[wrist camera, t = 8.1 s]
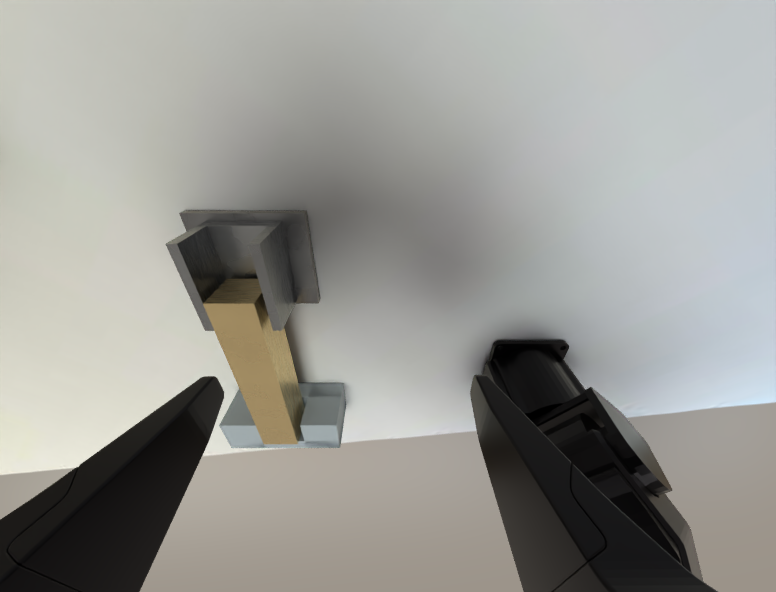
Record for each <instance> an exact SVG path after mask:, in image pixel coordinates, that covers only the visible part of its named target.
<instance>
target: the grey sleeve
mask: <svg viewBox="0 0 776 592" xmlns="http://www.w3.org/2000/svg"><path fill="white" fill-rule="evenodd" d="M179 214H180V216H181V219H182V221H183V224H184V226H185V228H186V231H187V232H185V233H184V234H182V235H180V236H179V237H177V238H175V239H173V240H172V241H170V242H168V243H166V246H167V248H168V250H169V252H170V255H171V257H172V259H173V261H174V263H175V266H176V268H177V270H178V272H179V274H180V276H181V279H182V281H183V283H184V285H185V287H186V290H187V292H188V294H189V296H190V298H191V301H192V303H193V305H194V307H195V309H196V312H197V314H198V316H199V318H200V320H201V322H202V325H203V327H204V329H205V331H214V328H213V326H212V324H211V321H210V319H209V317H208V315H207V312H206V310H205V308H204V305H203V303H204V302H205V301H206V300H207V299H208V298H209V297H210V296H211V295H212V294H213V293H214V292H215V291H216V290H217V289H218V288H219V287H220V286H221V285H222V284H223V283H224V282H225V280H226V279H258V280H259V284H260V287H261V291H262V294H263V298H264V301H265V305H266V308H267V312H268V315H269V319H270V322H271V326H272V329H273V331H282V330H283V328H284V326H285V324H286V322H287V320H288V318H289V316H290V314H291V311H292V309H293V307H294V305H295V303H319V301H320V295H319V289H318V283H317V276H316V270H315V263H314V257H313V250H312V244H311V238H310V231H309V225H308V218H307V212H306V211H183V212H181V213H179Z"/></svg>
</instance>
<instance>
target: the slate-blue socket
mask: <svg viewBox="0 0 776 592" xmlns="http://www.w3.org/2000/svg"><path fill="white" fill-rule="evenodd" d="M298 384H299V388H300V392H301V395H302V399H303V403H304V407H305V410H304V413H303V417H302V420H301V424H300V427H301V430H302V431H301V435H300V438H299V442H298V444H263V441H262V439H261V437H260V435H259V432H258V430H257V428H256V425H255V423H254V421H253V418H252V416H251V414H250V411H249V409H248V407H247V405H246V402H245V400H244V398H243V395H242V393H241V391H240V388H239V390H238V392H237V394H236V396H235V397H234V399H233V401H232V403H231V405H230V407H229V409H228V410H227V412H226V414H225V416H224V418H223V420H222V421H221V423H220V425H219V426H220V428H221V430H222V432H223V433H224V435H225V437H226V439H227V441H228V442H229V444H230V446H231V448H339V447H340V444H341V437H342V430H343V423H344V416H345V409H346V401H345V393H344V385H343V383H298Z"/></svg>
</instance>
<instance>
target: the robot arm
mask: <svg viewBox="0 0 776 592" xmlns="http://www.w3.org/2000/svg"><path fill="white" fill-rule="evenodd" d="M499 346H500V347H499ZM568 349H569V345H568V344H567V343H566V342H565V341H497V342H495V343H494V344H493V347H492V351H491V355H490V358H489V361H488V362H487V363H486V366H485V370H484V373H483V375H475V376H474V378H473V382H472V386H471V391H470V395H471V401H472V407H473V412H474V418H475V423H476V429H477V434H478V438H479V443H480V447H481V450H482V453H483V456H484V460H485V463H486V467H487V470H488V473H489V477H490V480H491V484H492V487H493V490H494V493H495V497H496V500H497V503H498V507H499V510H500V514H501V517H502V520H503V524H504V527H505V530H506V534H507V537H508V541H509V544H510V547H511V551H512V554H513V557H514V561H515V564H516V567H517V571H518V574H519V577H520V581H521V584H522V587H523V591H524V592H718V591H716V590H715V589H713V588H712V587H710V586H708V585H707V584H706V583H704V582H703V578H702V574H701V570H700V566H699V561H698V557H697V553H696V549H695V545H694V541H693V536H692V532H691V529H690V527H689V525H688V524H687V522H686V521H685V519H684V518H683V517H682V515H681V514H680V513H679V512H678V510H677V509H676V508H675V506H674V505H673V504H672V502H671V501H670V500H669V499H668V497H667V496H666V494H665V493H667V492H670V491H672V488H671V486H670V484H669V482H668V480H667V479H666V477H665V475H664V473H663V471H662V469H661V467H660V466H659V464H658V462H657V460H656V458H655V457H654V455H653V453H652V451H651V449H650V447H649V445H648V444H647V442H646V441H645V440H644V438H643V437H642V436H641V435H640V434H639V432H638V431H637V430H636V429H635V428H634V427H633V426H632V424H631V423H630V422H629V421H628V420H627V418H626V417H625V416H624V415H623V414H622V413H621V412H620V411H619V410H618V409H617V408H616V407H614V406H613V405H612V404H611V403H610V402H608V401H607V400H606V399H605V398H604V397H602V396H601V395H600V394H599V393H598V392H596V391H595V390H594V389H593V388H592V387H590V388H588V389H586V390H585V389H584V387H583V386H582V385H581V383H580V382H579V380H578V379H577V378H576V376H575V375H574V374H573V372H572V371H571V369H570V368H569V367H568V365H567V364H566V363H565V361H564V360H563V359H564V357H565V355H566V353H567V351H568ZM223 399H224V391H223V389H222V387H221V385H220V383H219V381H218V379H217V378H216V377H214V376H208V377H202V378H200V379H199V380H197V381H196V382H195V383H193V384H192V385H190V386H189V387H188V388H186V389H185V390H183V391H182V392H181V393H179V394H178V395H176V396H175V397H174V398H172V399H171V400H170V401H168V402H167V403H165V404H164V405H163V406H161V407H160V408H158V409H157V410H156V411H154V412H153V413H151V414H150V415H149V416H147V417H146V418H144V419H143V420H142V421H140V422H139V423H138V424H136V425H135V426H133V427H132V428H131V429H129V430H128V431H126V432H125V433H124V434H122V435H121V436H119V437H118V438H117V439H115V440H114V441H112V442H111V443H110V444H108V445H107V446H105V447H104V448H103V449H101V450H100V451H99V452H97V453H96V454H94V455H93V456H92V457H90V458H89V459H87V460H86V461H85V462H83V463H82V464H80V466H79V467H76V468H75V469H73V470H72V471H71V472H69V473H68V474H66V475H65V476H64V477H63V478H61V479H59V480H58V481H57V482H55V483H54V484H52V485H51V486H50V487H48V488H47V489H45V490H44V491H42V492H41V493H39V494H38V495H37V496H35V497H34V498H32V499H31V500H29V501H28V502H26V503H25V504H23V505H22V506H20V507H19V508H17V509H16V510H14V511H13V512H11V513H10V514H8V515H7V516H5V517H4V518H2V519H1V520H0V592H139V591H140V589H141V587H142V585H143V582H144V580H145V578H146V576H147V574H148V572H149V570H150V568H151V565H152V563H153V561H154V559H155V557H156V555H157V552H158V550H159V548H160V546H161V544H162V542H163V539H164V537H165V535H166V533H167V531H168V529H169V526H170V524H171V522H172V520H173V518H174V516H175V513H176V511H177V509H178V507H179V505H180V503H181V500H182V498H183V496H184V494H185V492H186V490H187V487H188V485H189V483H190V481H191V479H192V477H193V474H194V472H195V470H196V468H197V466H198V464H199V461H200V459H201V457H202V455H203V453H204V451H205V448H206V446H207V444H208V441H209V439H210V436H211V433H212V431H213V428H214V425H215V422H216V419H217V416H218V413H219V410H220V407H221V405H222V402H223Z"/></svg>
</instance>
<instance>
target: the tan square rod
mask: <svg viewBox="0 0 776 592" xmlns="http://www.w3.org/2000/svg"><path fill="white" fill-rule="evenodd" d="M203 305H204V308H205V310H206V312H207V315H208V317H209V319H210V321H211V324H212V326H213V328H214V331H215V333H216V335H217V338H218V340H219V342H220V345H221V347H222V349H223V351H224V354H225V356H226V358H227V361H228V363H229V365H230V368H231V370H232V372H233V375H234V377H235V379H236V381H237V384H238V386H239V388H240V391H241V393H242V395H243V398H244V400H245V402H246V405H247V407H248V409H249V411H250V414H251V416H252V418H253V421H254V423H255V425H256V428H257V430H258V432H259V435H260V437H261V439H262V441H263V444H298V442H299V438H300V435H301V431H302V430H301V427H300V424H301V420H302V417H303V413H304V410H305V407H304V403H303V399H302V395H301V392H300V388H299V384H298V380H297V376H296V372H295V368H294V364H293V360H292V356H291V352H290V349H289V345H288V341H287V337H286V333H285V329H284V328H283V330H282V331H273V329H272V326H271V322H270V319H269V315H268V312H267V308H266V305H265V301H264V298H263V294H262V291H261V287H260V284H259V280H258V279H226V280H225V282H224V283H223V284H222V285H221V286H220V287H219V288H218V289H217V290H216V291H215V292H214V293H213V294H212V295H211V296H210V297H209V298H208V299H207V300H206V301H205V302H204V303H203Z"/></svg>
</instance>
